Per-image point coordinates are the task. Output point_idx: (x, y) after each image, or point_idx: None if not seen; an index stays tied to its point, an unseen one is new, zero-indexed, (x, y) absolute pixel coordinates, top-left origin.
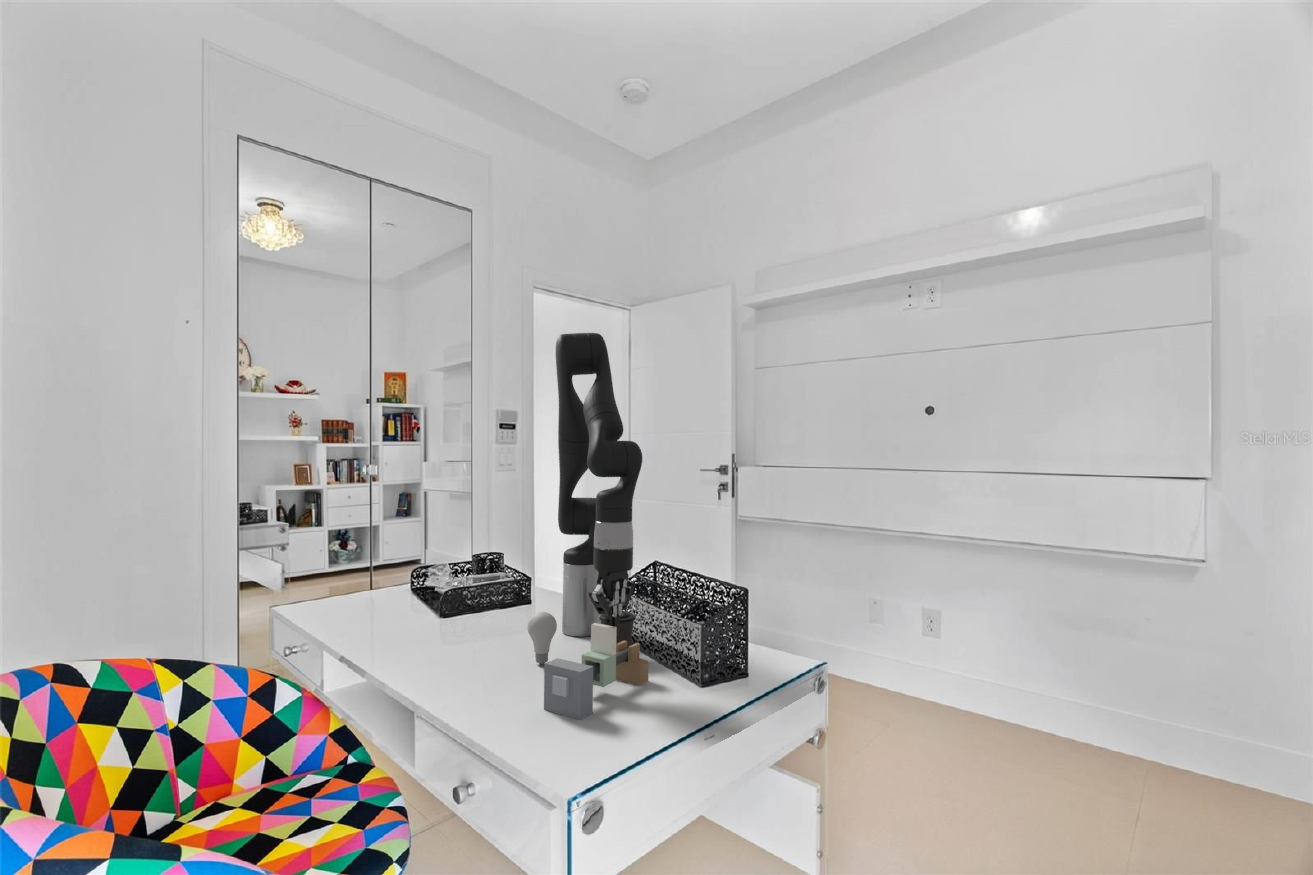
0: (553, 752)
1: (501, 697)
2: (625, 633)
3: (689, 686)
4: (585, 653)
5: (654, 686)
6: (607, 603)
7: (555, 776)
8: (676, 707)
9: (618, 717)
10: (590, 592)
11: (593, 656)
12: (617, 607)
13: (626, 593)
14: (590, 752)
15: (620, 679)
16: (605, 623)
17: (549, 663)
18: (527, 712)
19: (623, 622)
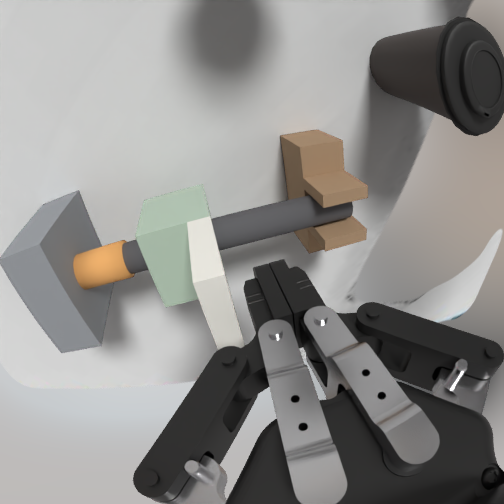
0: (18, 333)
1: (7, 86)
2: (437, 112)
3: (342, 285)
4: (154, 233)
5: (306, 249)
6: (230, 440)
7: (13, 365)
8: (250, 332)
9: (144, 312)
10: (143, 494)
11: (157, 272)
12: (317, 375)
13: (417, 379)
14: (58, 357)
15: (287, 178)
16: (251, 310)
17: (9, 267)
18: (14, 197)
19: (454, 123)
